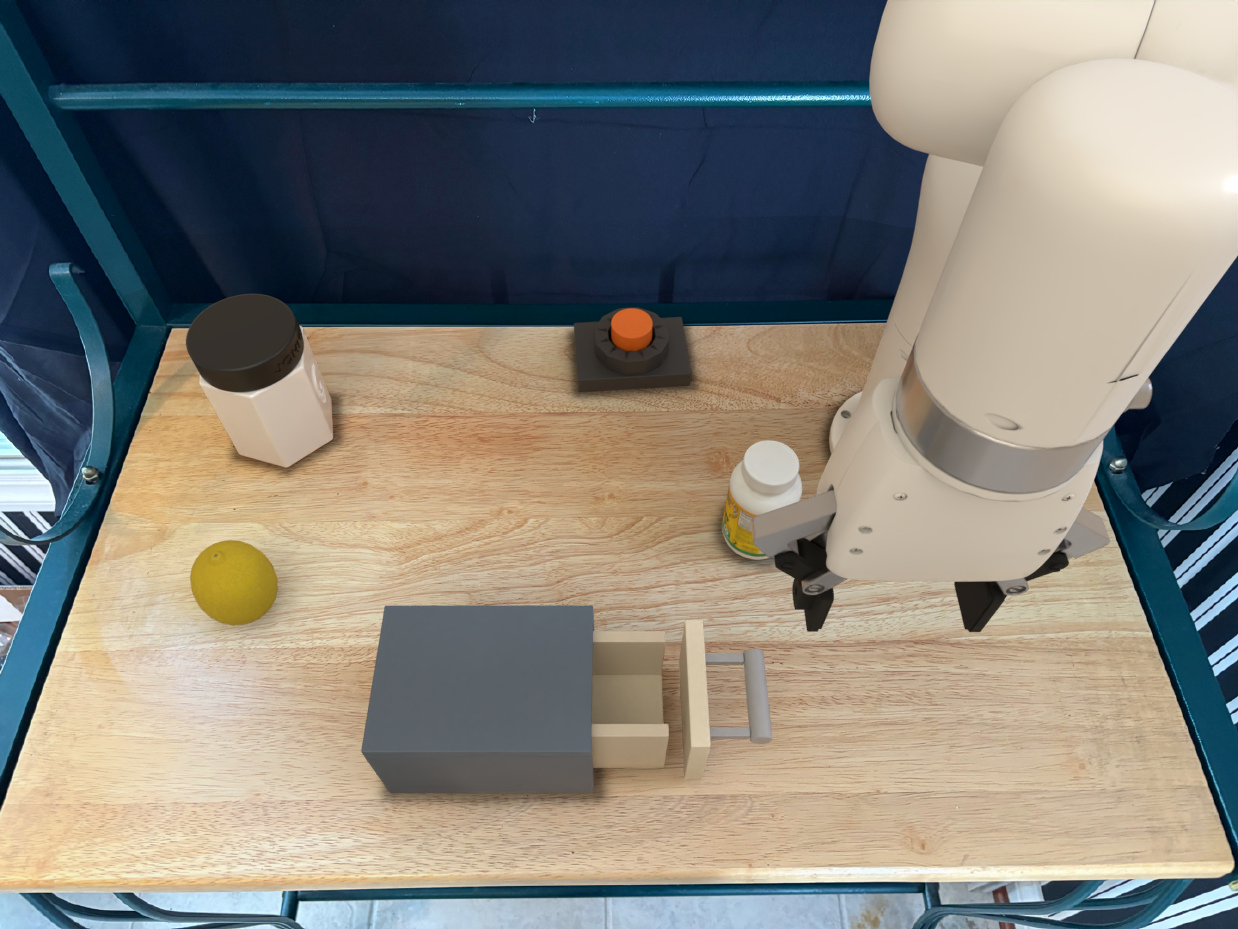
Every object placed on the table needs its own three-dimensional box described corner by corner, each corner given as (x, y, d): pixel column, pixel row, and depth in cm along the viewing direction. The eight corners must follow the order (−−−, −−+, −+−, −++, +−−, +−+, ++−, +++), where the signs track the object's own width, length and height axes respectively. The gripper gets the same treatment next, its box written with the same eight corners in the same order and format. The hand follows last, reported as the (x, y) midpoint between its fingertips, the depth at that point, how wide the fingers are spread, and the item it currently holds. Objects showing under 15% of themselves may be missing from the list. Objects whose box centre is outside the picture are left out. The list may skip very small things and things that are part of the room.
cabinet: (595, 658, 66) (593, 605, 59) (593, 793, 61) (591, 752, 54) (408, 658, 66) (384, 605, 59) (389, 793, 61) (360, 752, 54)
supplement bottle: (777, 571, 70) (797, 503, 63) (711, 548, 72) (723, 479, 64) (795, 516, 73) (817, 445, 66) (732, 495, 74) (746, 423, 67)
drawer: (753, 661, 65) (766, 619, 60) (765, 780, 60) (780, 746, 55) (521, 661, 65) (512, 619, 60) (513, 780, 60) (503, 747, 55)
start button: (649, 320, 82) (650, 306, 80) (653, 350, 80) (654, 336, 78) (609, 323, 81) (609, 309, 80) (612, 352, 79) (612, 339, 78)
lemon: (272, 648, 67) (235, 598, 60) (202, 634, 67) (157, 583, 61) (302, 583, 70) (270, 528, 63) (235, 570, 70) (196, 514, 64)
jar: (337, 460, 76) (297, 365, 67) (237, 477, 75) (181, 383, 65) (333, 381, 81) (295, 281, 72) (239, 396, 80) (187, 297, 71)
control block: (680, 329, 85) (683, 302, 82) (690, 386, 81) (693, 359, 78) (574, 335, 85) (572, 308, 82) (578, 393, 81) (577, 366, 78)
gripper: (1192, 328, 37) (1030, 547, 51) (764, 326, 37) (721, 546, 51) (1269, 481, 33) (1068, 673, 47) (783, 479, 32) (731, 672, 47)
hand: (888, 606), depth 49 cm, fingers open, 7 cm apart
